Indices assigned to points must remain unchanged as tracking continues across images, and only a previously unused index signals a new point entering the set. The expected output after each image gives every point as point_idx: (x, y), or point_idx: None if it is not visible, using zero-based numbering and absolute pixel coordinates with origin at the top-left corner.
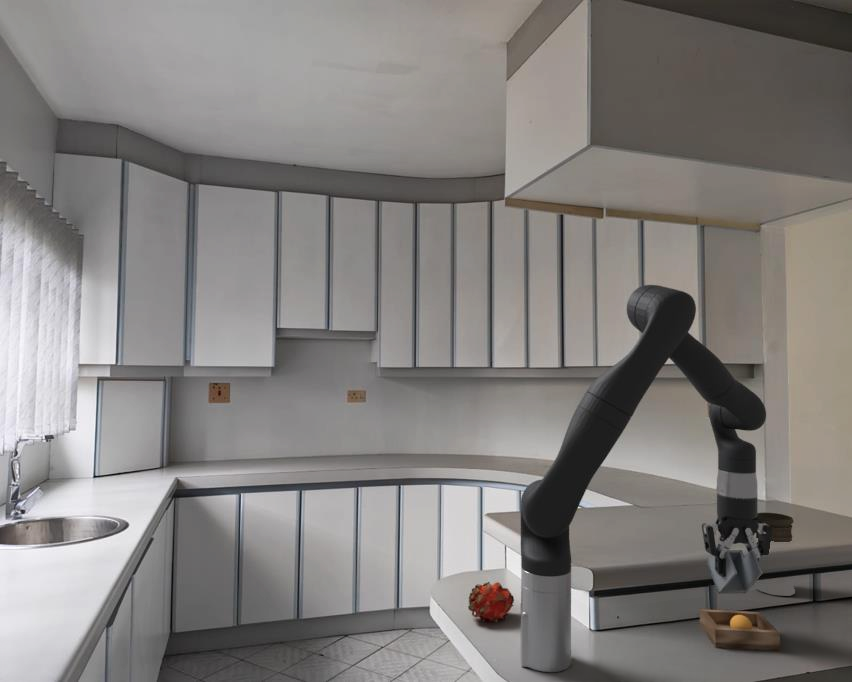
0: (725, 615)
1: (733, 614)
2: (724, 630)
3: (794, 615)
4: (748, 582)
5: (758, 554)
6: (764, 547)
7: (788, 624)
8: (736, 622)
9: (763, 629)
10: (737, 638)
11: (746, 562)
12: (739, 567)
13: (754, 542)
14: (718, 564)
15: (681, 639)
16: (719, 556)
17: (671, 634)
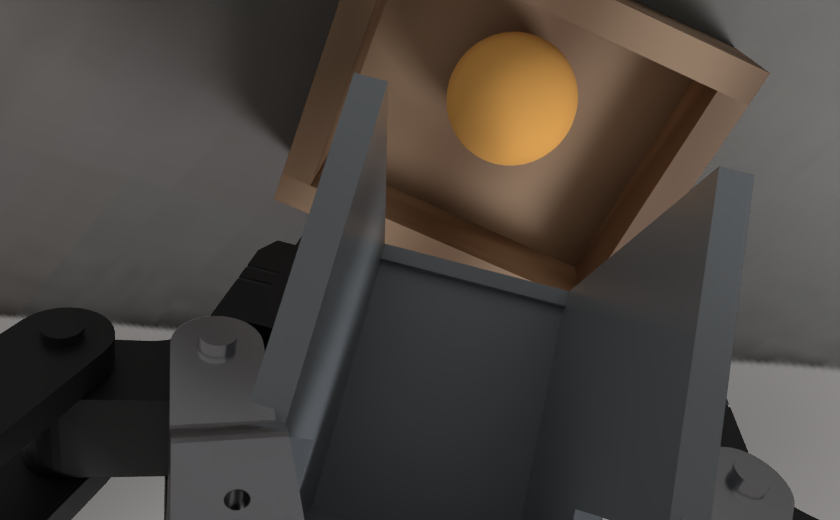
0: (478, 249)
1: (435, 234)
2: (714, 46)
3: (17, 232)
4: (376, 241)
5: (199, 346)
6: (42, 390)
7: (112, 161)
8: (568, 92)
9: (358, 69)
10: (630, 2)
11: (328, 376)
12: (332, 415)
13: (203, 494)
14: (734, 422)
15: (826, 190)
16: (785, 487)
17: (821, 253)
